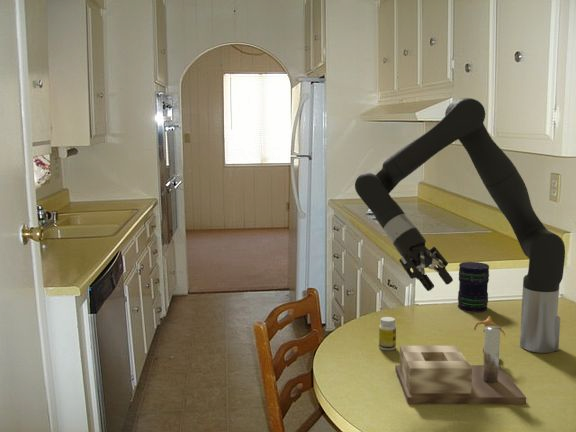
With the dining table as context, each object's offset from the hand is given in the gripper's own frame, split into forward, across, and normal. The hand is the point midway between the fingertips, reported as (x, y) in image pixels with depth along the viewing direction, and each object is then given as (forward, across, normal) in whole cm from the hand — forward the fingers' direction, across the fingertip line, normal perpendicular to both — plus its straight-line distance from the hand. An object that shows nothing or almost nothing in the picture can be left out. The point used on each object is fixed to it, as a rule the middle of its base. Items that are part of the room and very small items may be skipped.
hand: (441, 285), depth 149 cm
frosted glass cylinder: (+25, 0, +4) cm, 25 cm away
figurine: (+20, +15, +11) cm, 27 cm away
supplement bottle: (+3, +2, +28) cm, 29 cm away
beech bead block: (+18, -10, +11) cm, 23 cm away
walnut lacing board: (+22, -6, +9) cm, 24 cm away
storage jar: (+2, +52, +30) cm, 60 cm away
